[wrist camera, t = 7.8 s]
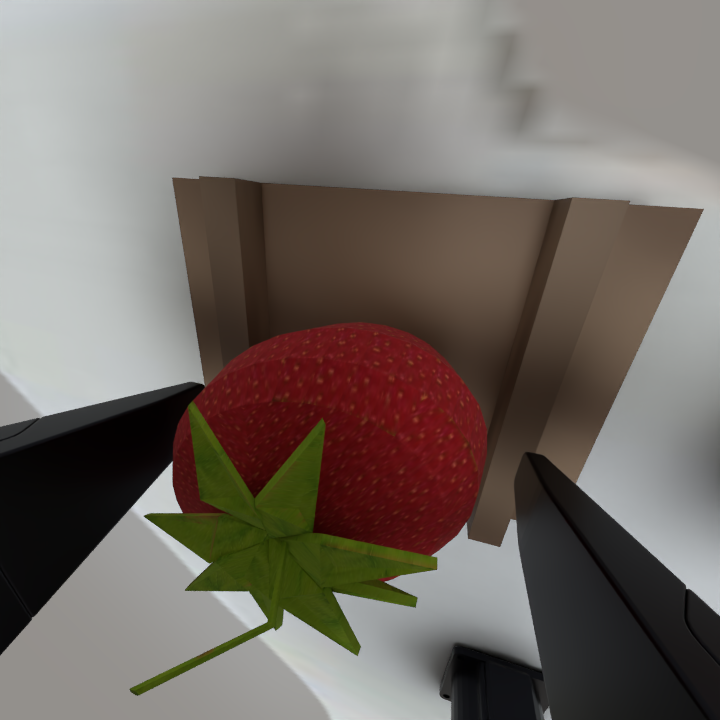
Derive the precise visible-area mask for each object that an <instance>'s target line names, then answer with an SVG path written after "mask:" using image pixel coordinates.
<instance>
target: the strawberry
mask: <svg viewBox="0 0 720 720" xmlns="http://www.w3.org/2000/svg"><path fill="white" fill-rule="evenodd" d="M486 456H487V428H486V425H485V421H484V418H483V415H482V412H481V409H480V405H479V404H478V402H477V401H476V399H475V398H474V396H473V395H472V393H471V392H470V390H469V389H468V387H467V386H466V384H465V383H464V381H463V380H462V379H461V377H460V376H459V375H458V374H457V373H456V371H455V370H454V369H453V368H452V366H451V365H450V364H449V363H448V361H447V360H446V359H445V358H444V357H443V356H442V355H441V354H440V353H438V352H437V351H436V350H435V349H434V348H433V347H432V346H431V345H429V344H428V343H426V342H425V341H423V340H421V339H419V338H417V337H416V336H414V335H412V334H410V333H408V332H405V331H402V330H399V329H396V328H393V327H389V326H386V325H379V324H372V323H364V322H357V323H338V324H333V325H328V326H322V327H317V328H312V329H307V330H302V331H297V332H292V333H287V334H281V335H278V336H275V337H273V338H271V339H268V340H266V341H263V342H261V343H259V344H256V345H254V346H252V347H250V348H249V349H247V350H246V351H244V352H243V353H241V354H240V355H238V356H237V357H235V358H234V359H232V360H231V361H230V362H229V363H228V364H227V365H226V366H225V367H224V368H223V369H222V370H221V371H220V373H219V374H218V375H217V376H216V377H215V378H214V379H213V380H212V381H211V382H210V383H209V384H208V385H207V386H206V387H205V388H204V389H203V390H202V392H201V393H200V394H199V395H198V396H197V397H196V398H195V399H194V400H193V401H192V402H191V403H190V404H189V405H188V407H187V409H186V411H185V412H184V414H183V416H182V418H181V419H180V421H179V423H178V426H177V430H176V434H175V438H174V442H173V488H174V492H175V495H176V499H177V502H178V504H179V506H180V508H181V510H182V512H183V513H150V514H147V515H145V516H144V517H145V518H147V519H148V520H149V521H151V522H152V523H154V524H155V525H156V526H158V527H159V528H161V529H162V530H163V531H165V532H166V533H168V534H169V535H170V536H172V537H173V538H174V539H176V540H177V541H179V542H180V543H181V544H183V545H184V546H186V547H187V548H188V549H190V550H191V551H193V552H194V553H195V554H197V555H198V556H200V557H201V558H202V559H204V560H205V561H206V562H208V563H212V562H213V563H212V564H211V565H209V566H208V567H207V568H206V569H205V570H204V571H203V572H202V573H201V574H200V575H199V576H198V577H197V578H196V579H195V580H194V581H193V582H192V583H191V584H190V585H189V586H188V587H187V588H186V589H185V591H249V592H250V594H251V595H252V596H253V598H254V599H255V601H256V602H257V604H258V605H259V607H260V608H261V610H262V611H263V613H264V614H265V616H266V617H267V618H268V622H267V623H265V624H263V625H261V626H259V627H257V628H255V629H252V630H250V631H248V632H246V633H244V634H242V635H240V636H238V637H236V638H234V639H232V640H230V641H228V642H226V643H224V644H221V645H219V646H217V647H216V648H214V649H211V650H209V651H207V652H205V653H203V654H201V655H199V656H197V657H195V658H192V659H190V660H188V661H186V662H184V663H182V664H180V665H178V666H176V667H174V668H172V669H170V670H168V671H166V672H163V673H161V674H159V675H157V676H155V677H153V678H151V679H149V680H147V681H145V682H143V683H141V684H139V685H137V686H134V687H132V688H130V691H131V692H132V693H133V694H135V695H137V696H138V695H140V694H142V693H144V692H146V691H148V690H150V689H152V688H154V687H156V686H158V685H160V684H162V683H164V682H166V681H168V680H170V679H172V678H174V677H176V676H178V675H180V674H182V673H184V672H186V671H188V670H190V669H192V668H194V667H196V666H198V665H200V664H202V663H204V662H206V661H208V660H210V659H212V658H214V657H216V656H218V655H220V654H222V653H224V652H226V651H228V650H229V649H232V648H234V647H236V646H238V645H240V644H242V643H243V642H246V641H248V640H250V639H252V638H254V637H256V636H258V635H260V634H262V633H264V632H266V631H268V630H270V629H272V628H274V629H275V630H277V629H278V628H280V627H281V626H282V622H283V611H284V609H285V610H286V611H288V612H289V613H291V614H293V615H294V616H296V617H297V618H299V619H300V620H302V621H303V622H305V623H307V624H308V625H310V626H311V627H313V628H314V629H316V630H318V631H319V632H321V633H322V634H324V635H325V636H327V637H328V638H330V639H332V640H333V641H335V642H336V643H338V644H339V645H341V646H343V647H344V648H346V649H347V650H349V651H350V652H352V653H353V654H355V655H357V656H358V654H359V651H360V648H361V646H360V644H359V642H358V640H357V638H356V636H355V634H354V633H353V631H352V629H351V627H350V625H349V623H348V621H347V619H346V617H345V615H344V613H343V611H342V610H341V608H340V606H339V604H338V602H337V600H336V598H335V596H334V594H333V592H337V593H342V594H348V595H353V596H358V597H363V598H368V599H373V600H379V601H384V602H389V603H394V604H399V605H404V606H410V607H415V608H416V603H417V597H415V596H413V595H411V594H408V593H406V592H404V591H402V590H400V589H398V588H395V587H393V586H391V585H389V584H387V583H385V581H388V580H391V579H394V578H396V577H398V576H400V575H406V574H412V573H418V572H425V571H431V570H437V557H432V556H431V555H433V554H434V553H436V552H437V551H439V550H440V549H441V548H442V547H443V546H445V545H446V544H447V543H448V542H449V541H451V540H452V539H453V538H454V537H455V536H457V535H458V533H459V532H460V530H461V529H462V528H463V526H464V525H465V523H466V522H467V521H468V519H469V518H470V516H471V514H472V511H473V508H474V505H475V502H476V499H477V496H478V492H479V487H480V483H481V478H482V474H483V470H484V465H485V461H486Z"/></svg>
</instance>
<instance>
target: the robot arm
mask: <svg viewBox="0 0 720 720" xmlns="http://www.w3.org/2000/svg"><path fill="white" fill-rule="evenodd" d="M204 388H205V386H204V385H203V384H200V383H195V382H187V383H183V384H179V385H175V386H171V387H166V388H162V389H158V390H154V391H150V392H145V393H141V394H137V395H133V396H129V397H124V398H120V399H116V400H112V401H108V402H103V403H99V404H95V405H91V406H87V407H82V408H78V409H74V410H70V411H66V412H61V413H57V414H53V415H49V416H45V417H42V418H36V419H32V420H28V421H23V422H19V423H15V424H11V425H6V426H2V427H0V655H1V654H2V653H3V651H5V649H6V648H7V647H8V646H9V645H10V644H11V643H12V642H13V640H14V639H15V638H16V637H17V636H18V635H19V633H21V631H22V630H23V629H24V628H25V627H26V626H27V625H28V624H29V622H30V621H31V620H32V617H34V616H35V615H36V614H37V613H38V612H39V611H40V609H41V608H42V607H43V606H44V605H45V604H46V603H47V602H48V601H49V599H50V598H51V597H52V596H53V595H54V594H55V593H56V591H57V590H58V589H59V588H60V587H61V586H62V585H63V584H64V582H65V581H66V580H67V579H68V578H69V577H70V576H71V575H72V574H73V572H74V571H75V570H76V569H77V568H78V567H79V565H80V564H81V563H82V562H83V561H84V560H85V559H86V558H87V557H88V556H89V554H90V553H91V552H92V551H93V550H94V549H95V548H96V547H97V545H98V544H99V543H100V542H101V541H102V540H103V539H104V538H105V536H106V535H107V534H108V533H109V532H110V531H111V530H112V529H113V527H114V526H115V525H116V524H117V523H118V521H120V519H121V518H122V517H123V516H124V515H125V514H126V513H127V512H128V511H129V509H130V508H131V507H132V506H133V505H134V504H135V503H136V502H137V500H138V499H139V498H140V497H141V496H142V495H143V494H144V493H145V491H146V490H147V489H148V488H149V487H150V486H151V485H152V484H153V482H154V481H155V480H156V479H157V478H158V477H159V476H160V475H161V473H162V472H163V471H164V470H165V469H166V468H167V467H168V466H169V464H170V463H171V462H172V461H173V442H174V438H175V434H176V430H177V426H178V423H179V421H180V419H181V418H182V416H183V414H184V412H185V411H186V409H187V407H188V405H189V404H190V403H191V402H192V401H193V400H194V399H195V398H196V397H197V396H198V395H199V394H200V393H201V392H202V390H203V389H204ZM514 494H515V507H516V521H517V535H518V545H519V552H520V557H521V563H522V568H523V573H524V578H525V583H526V589H527V594H528V599H529V604H530V609H531V615H532V620H533V625H534V630H535V635H536V640H537V646H538V651H539V656H540V661H541V666H542V672H543V674H542V673H539V672H536V671H533V670H530V669H527V668H524V667H521V666H518V665H515V664H512V663H509V662H506V661H503V660H500V659H497V658H494V657H491V656H488V655H485V654H482V653H479V652H476V651H473V650H470V649H467V648H464V647H460V646H456V647H454V648H453V651H452V654H451V657H450V659H449V662H448V665H447V668H446V671H445V674H444V676H443V679H442V682H441V685H440V696H441V697H442V698H443V699H446V700H448V701H451V720H544V716H543V714H544V712H545V711H546V709H547V708H548V706H549V708H550V713H551V718H552V720H720V616H719V615H718V614H717V613H716V612H715V611H713V610H712V609H711V608H710V607H709V606H708V605H707V604H706V603H705V602H704V601H703V600H701V599H700V598H699V597H698V596H697V595H696V594H695V593H694V592H693V591H692V590H690V589H686V585H685V584H684V583H683V582H682V581H681V580H680V579H678V578H677V577H676V576H675V575H674V574H673V573H672V572H671V571H670V570H669V569H668V568H666V567H665V566H664V565H663V564H662V563H661V562H660V561H659V560H658V559H657V558H656V557H654V556H653V555H652V554H651V553H650V552H649V551H648V550H647V549H646V548H645V547H644V546H642V545H641V544H640V543H639V542H638V541H637V540H636V539H635V538H634V537H633V536H632V535H630V534H629V533H628V532H627V531H626V530H625V529H624V528H623V527H622V526H621V525H620V524H618V523H617V522H616V521H615V520H614V519H613V518H612V517H611V516H610V515H609V514H608V513H606V512H605V511H604V510H603V509H602V508H601V507H600V506H599V505H598V504H597V503H596V502H594V501H593V500H592V499H591V498H590V497H589V496H588V495H587V494H586V493H585V492H584V491H582V490H581V489H580V488H579V487H578V486H577V485H576V484H575V483H574V482H573V481H572V480H570V479H569V478H568V477H567V476H566V475H565V474H564V473H563V472H562V471H561V470H560V469H558V468H557V467H556V466H555V465H554V464H553V463H552V462H551V461H550V460H549V459H548V458H546V457H545V456H544V455H542V454H537V453H532V452H525V453H524V454H523V456H522V458H521V461H520V464H519V467H518V469H517V472H516V475H515V479H514Z"/></svg>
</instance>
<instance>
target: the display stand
mask: <svg viewBox="0 0 720 720" xmlns="http://www.w3.org/2000/svg"><path fill="white" fill-rule="evenodd" d="M172 179H173V186H174V192H175V198H176V205H177V211H178V217H179V224H180V230H181V237H182V243H183V249H184V256H185V262H186V268H187V275H188V281H189V287H190V294H191V300H192V306H193V313H194V319H195V325H196V332H197V338H198V344H199V351H200V357H201V363H202V370H203V376H204V382H205V387H206V386H207V385H208V384H209V383H210V382H211V381H212V380H213V379H214V378H215V377H216V376H217V375H218V374H219V373H220V371H221V370H222V369H223V368H224V367H225V366H226V365H227V364H228V363H229V362H230V361H231V360H232V359H234V358H235V357H237V356H238V355H240V354H241V353H243V352H244V351H246V350H247V349H249V348H250V347H252V346H254V345H256V344H259V343H261V342H263V341H266V340H268V339H271V338H273V337H275V336H278V335H281V334H287V333H292V332H297V331H302V330H307V329H312V328H317V327H322V326H328V325H333V324H338V323H357V322H364V323H372V324H379V325H386V326H389V327H393V328H396V329H399V330H402V331H405V332H408V333H410V334H412V335H414V336H416V337H417V338H419V339H421V340H423V341H425V342H426V343H428V344H429V345H431V346H432V347H433V348H434V349H435V350H436V351H437V352H438V353H440V354H441V355H442V356H443V357H444V358H445V359H446V360H447V361H448V363H449V364H450V365H451V366H452V368H453V369H454V370H455V371H456V373H457V374H458V375H459V376H460V377H461V379H462V380H463V381H464V383H465V384H466V386H467V387H468V389H469V390H470V392H471V393H472V395H473V396H474V398H475V399H476V401H477V402H478V404H479V405H480V409H481V412H482V415H483V418H484V421H485V425H486V428H487V456H486V461H485V465H484V470H483V474H482V478H481V483H480V487H479V492H478V496H477V499H476V502H475V505H474V508H473V511H472V514H471V516H470V518H469V519H468V521H467V530H468V539H472V540H476V541H480V542H483V543H487V544H491V545H495V546H498V547H500V546H501V543H502V540H503V538H504V535H505V532H506V530H507V527H508V524H509V522H510V519H513V520H516V507H515V494H514V479H515V475H516V472H517V469H518V467H519V464H520V461H521V458H522V456H523V454H524V453H525V452H532V453H537V454H542V455H544V456H545V457H546V458H548V459H549V460H550V461H551V462H552V463H553V464H554V465H555V466H556V467H557V468H558V469H560V470H561V471H562V472H563V473H564V474H565V475H566V476H567V477H568V478H569V479H570V480H572V481H573V482H574V483H575V484H576V482H577V479H578V477H579V475H580V473H581V471H582V469H583V467H584V464H585V462H586V460H587V458H588V456H589V454H590V452H591V449H592V447H593V445H594V443H595V441H596V439H597V437H598V434H599V432H600V430H601V428H602V426H603V424H604V422H605V419H606V417H607V415H608V413H609V411H610V409H611V407H612V404H613V402H614V400H615V398H616V396H617V394H618V392H619V389H620V387H621V385H622V383H623V381H624V379H625V377H626V374H627V372H628V370H629V368H630V366H631V364H632V362H633V359H634V357H635V355H636V353H637V351H638V349H639V347H640V344H641V342H642V340H643V338H644V336H645V334H646V332H647V330H648V327H649V325H650V323H651V321H652V319H653V317H654V315H655V312H656V310H657V308H658V306H659V304H660V302H661V300H662V297H663V295H664V293H665V291H666V289H667V287H668V285H669V282H670V280H671V278H672V276H673V274H674V272H675V270H676V267H677V265H678V263H679V261H680V259H681V257H682V255H683V252H684V250H685V248H686V246H687V244H688V242H689V240H690V237H691V235H692V233H693V231H694V229H695V227H696V225H697V222H698V220H699V218H700V216H701V214H702V212H703V210H704V209H694V208H677V207H660V206H644V205H629V203H630V201H624V200H606V199H589V198H567V199H560V200H542V199H525V198H508V197H491V196H474V195H457V194H441V193H424V192H407V191H390V190H373V189H356V188H339V187H322V186H305V185H288V184H271V183H259V182H253V181H247V180H241V179H236V178H220V177H202V176H199V179H187V178H172Z"/></svg>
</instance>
